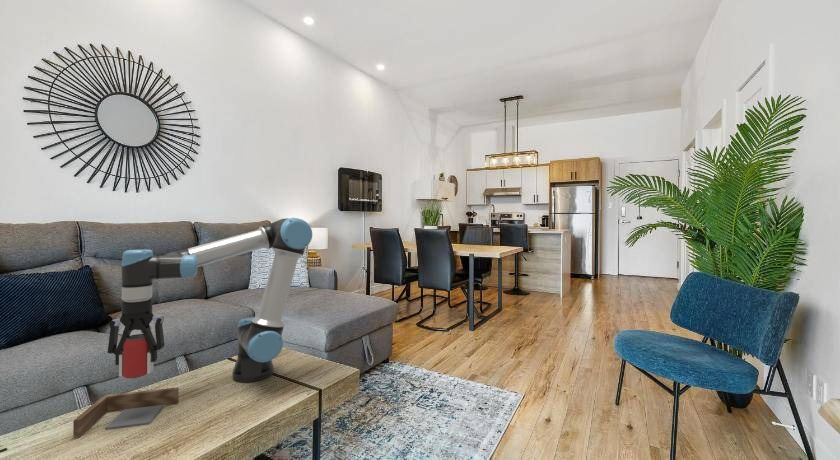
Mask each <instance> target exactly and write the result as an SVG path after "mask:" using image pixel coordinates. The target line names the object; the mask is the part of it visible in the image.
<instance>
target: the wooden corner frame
mask: <svg viewBox="0 0 840 460" xmlns="http://www.w3.org/2000/svg"><path fill="white" fill-rule="evenodd" d="M179 393H180V390H179V387H178V386H177V387H176V386H175V387H169V388H168V387H167V388H161V389H160V388H158V389H150V390H149V389H148V390H141V391H140V390H139V391H130V392H123V393H122V392H121V393H113V394H106V395H103V396H102V397H100V398H99V399H97V400H96V401H95V402H94V403H93V404H92V405H91V406H88V408H87V409H85V411H83V412H82V413H81V414H79V416H77V417H76V418H75V419H73V427H72V428H73V436H72V437H73V439H77V438H81V437H82V436H83V435H84V434H85V433H87V432H88V431H89V430H90V429H91V428H92V427H93V426H94V425H95V424H96V423H98V422H99V421H100V419H101V418H103V417H104V416H105V415H106V414H107V413H112V412H122V411H123V410H124V409H132V408H140V407H149V406H157V405H164V406H171V405H177V404H178V403H179V402H180V401H179V398H180V397H179Z"/></svg>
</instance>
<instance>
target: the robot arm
mask: <svg viewBox="0 0 840 460" xmlns="http://www.w3.org/2000/svg"><path fill="white" fill-rule="evenodd" d="M312 238H313V229H312V227H311V225H310V224H309V223H308V222H307V221H306V220H304V219H302V218H298V217H289V218H288V217H287V218H281V219H279V220H278V219H277V220H276V221H273V222H270V223H268V224H265V225H260V226H259V227H258V229H256V230H252V231H249V232H244V233H240V234H238V235H233V236H230V237H227V238H226V237H225V238H222V239H219V240H214V241H212V242H207V243H203V244H199V245H195V246H193V247H189V248H188V247H187V248H186V249H181V250H177V251H171V252H168V253H165V255H154V252H153V250H152V249H128V250H125V251H124V252H123V253H122V259H121V300H122V302H121V316H120V318H114V319H112V320H110V321H108V326H109V328H110V329H109V336H108V344H107V345H108V346H107V354H113V355H115V356H114V357H115V365H116V366H118V377H121V378H122V377H123V345H124V342H125V340H126V338H128V337H129V336H131V333H132V331H135V330H136V331H141V334H143V335H144V337H145V340H146V342H147V344H148V347H149V349H150V351H149V352H148V353H147V374H146V375H149V374H150V375H151V373H153V372H154V369H155V368H154V363H155V362H156V361H157V360H158V351H160V350H162V348H164V347H165V339H164V328H163V323H164V320H165V317H164V316H155V315H154V313H153V299H152V298H153V280H161V279H162V280H164V279H165V280H166V279H182V278H183V279H186V278H194V277H196V276H197V274H198V267H203V266H206V265H209V264H213V263H216V262H219V261H223V260H226V259H229V258H233V257H237V256H240V255H243V254H247V253H250V252H253V251H257V250H260V249H267V250H269V249H271V248H272V251H273V253H274V256H273V261H272V264H271V268H270V270H269V274H268V277H267V281H266V285H265V288H264V291H263V295H262V298H261V302H260V306H259V310H258V312H257V316H252V317H251V316H250V317H247V318H246V317H245V318H242V319H240V320H238V322H237V327H236V328H237V356H236V357H237V358H236V361H235V364H234V367H233V370H232V375H231V377H232V380H233V381H235V382H238V383H252V382H258V381H262V380H265V379H268V378H269V377H270V376H272V375H273V374H274V371H275V367H274V366H275V365H274V363H273V359H275V358H277V357H278V356H279V355H280V353H281V352H282V350H283V346H284V340H283V337H282V335H283V331H284V328H285V324H284V323H283V321H282V319H283V316H284V312H285V311H284V310H285V308H286V304H287V300H288V297H289V294H290V289H291V285H292V282H293V278H294V274H295V270H296V267H297V264H298V260H299V259H300V258H301V257H303V256H304V254H305V250H306V247H308V246H309V245H310V243H311V241H312V240H313V239H312ZM152 322H153V324H154V330H155V337H154V334H153V333H152V329H151V328H152V327H151V325H150V323H152ZM121 324H122V325H123V326H124V329H123V330H122V334H121V337H120V340H119V339H118V338H119V332H120V331H119V330H120V325H121ZM118 340H119V342H118Z"/></svg>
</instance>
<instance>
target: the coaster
mask: <svg viewBox="0 0 840 460" xmlns="http://www.w3.org/2000/svg"><path fill="white" fill-rule="evenodd" d="M163 408H165V405H157V406H149V407H140V408H132V409H124V410H122V411H120V413H118V415H117V416H115V418H113V420H112V421H111V422H109V424H108V425H107V426H106V427H105V431H107V430H115V429H122V428H124V429H125V428H129V427H137V426H145V425H151V424H152V422H153V421H154V420H155V418H156V417H157V416H158V415H159V414H160V412H161V411H162V409H163Z"/></svg>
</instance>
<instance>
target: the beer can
mask: <svg viewBox="0 0 840 460" xmlns="http://www.w3.org/2000/svg"><path fill="white" fill-rule="evenodd" d="M149 351H150V349H149V347H148V344H147V342H146V340H145V337H144V335H143V333H138V334H137V333H136V334H132V335H131V334H130V336H129V337H128V338H126V340H125V342H124V345H123V376H122V377H123V378H124V379H137V378H141V377H144V376H146V375H148V374H147V353H148V352H149Z"/></svg>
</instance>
